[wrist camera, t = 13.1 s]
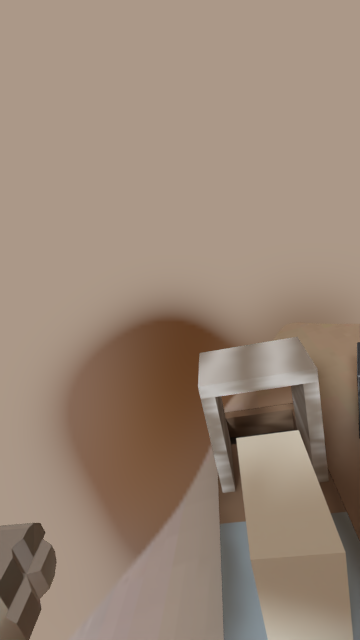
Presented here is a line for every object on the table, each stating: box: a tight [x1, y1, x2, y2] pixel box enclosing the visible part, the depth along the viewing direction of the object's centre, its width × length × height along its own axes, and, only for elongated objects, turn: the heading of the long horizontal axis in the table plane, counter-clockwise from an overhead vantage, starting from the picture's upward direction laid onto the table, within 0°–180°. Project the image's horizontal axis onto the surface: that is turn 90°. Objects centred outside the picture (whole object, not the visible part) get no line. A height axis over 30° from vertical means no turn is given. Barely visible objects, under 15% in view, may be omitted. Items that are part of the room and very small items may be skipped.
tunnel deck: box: [198, 337, 360, 640], centre depth 37 cm, size 13×32×18 cm, turn 177°
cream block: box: [236, 430, 353, 640], centre depth 29 cm, size 6×12×10 cm, turn 177°
